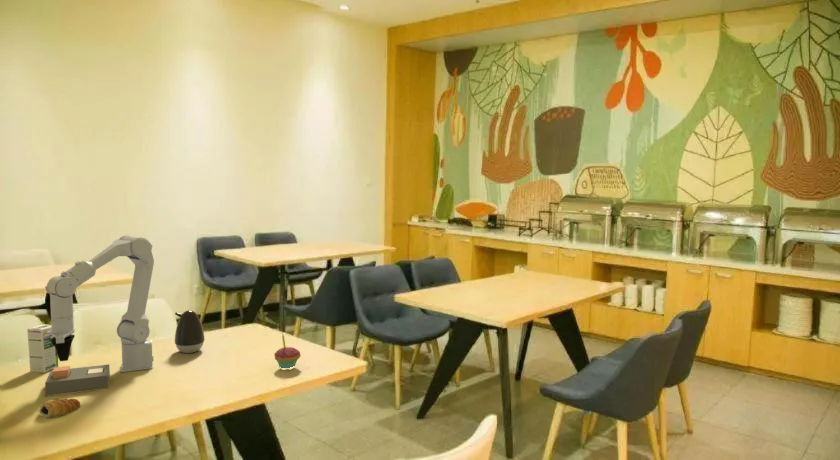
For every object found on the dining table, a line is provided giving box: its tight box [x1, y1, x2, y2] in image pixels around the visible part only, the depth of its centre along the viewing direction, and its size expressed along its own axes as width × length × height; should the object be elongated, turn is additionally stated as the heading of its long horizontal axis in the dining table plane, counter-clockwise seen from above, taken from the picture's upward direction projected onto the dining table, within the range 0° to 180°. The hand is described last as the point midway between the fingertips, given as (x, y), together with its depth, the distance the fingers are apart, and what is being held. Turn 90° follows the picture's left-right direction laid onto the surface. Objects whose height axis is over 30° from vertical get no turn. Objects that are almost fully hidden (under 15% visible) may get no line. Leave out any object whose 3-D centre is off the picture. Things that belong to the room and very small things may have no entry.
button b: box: [52, 365, 71, 378], centre depth 177 cm, size 4×4×4 cm
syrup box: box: [26, 323, 59, 374], centre depth 193 cm, size 6×6×14 cm
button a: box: [87, 368, 103, 374], centre depth 181 cm, size 4×4×4 cm
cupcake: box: [273, 332, 301, 368], centre depth 198 cm, size 9×8×12 cm
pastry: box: [38, 398, 81, 419], centre depth 161 cm, size 9×7×4 cm
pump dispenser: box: [174, 309, 205, 354], centre depth 214 cm, size 10×10×15 cm
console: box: [44, 364, 111, 397], centre depth 179 cm, size 16×11×4 cm
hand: (64, 360), depth 177 cm, fingers closed
